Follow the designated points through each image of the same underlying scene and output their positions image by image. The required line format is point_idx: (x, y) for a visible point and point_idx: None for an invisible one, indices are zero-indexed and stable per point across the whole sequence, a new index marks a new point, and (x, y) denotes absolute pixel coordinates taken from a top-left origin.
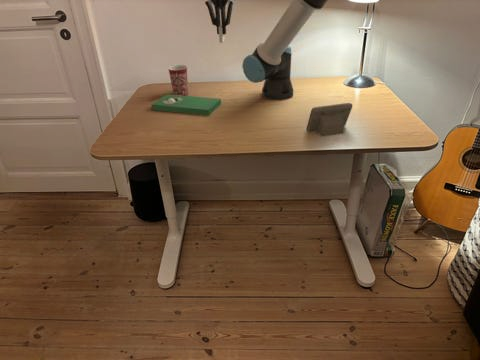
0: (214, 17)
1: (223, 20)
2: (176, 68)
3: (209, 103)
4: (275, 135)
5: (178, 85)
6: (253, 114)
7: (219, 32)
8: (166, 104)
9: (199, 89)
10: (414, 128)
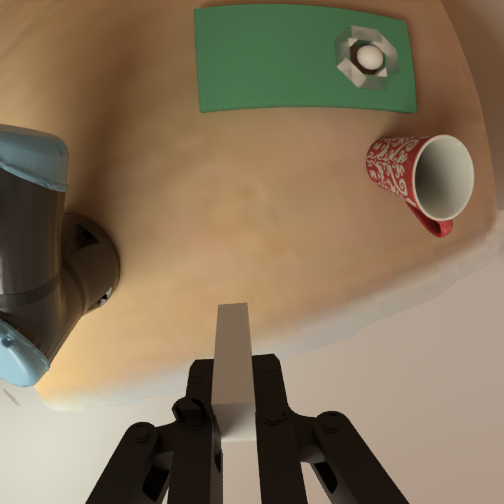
0: (338, 499)
1: (175, 471)
2: (452, 202)
3: (220, 55)
4: (12, 21)
5: (401, 137)
6: (72, 82)
7: (244, 359)
8: (364, 21)
9: (351, 230)
10: None
